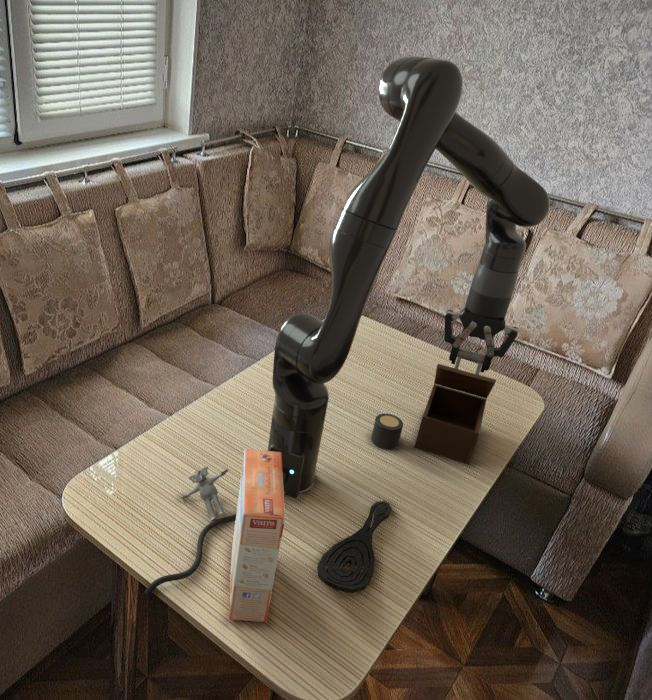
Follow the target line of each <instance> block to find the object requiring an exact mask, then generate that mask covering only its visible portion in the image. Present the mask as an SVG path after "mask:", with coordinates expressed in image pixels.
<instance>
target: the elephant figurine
mask: <svg viewBox="0 0 652 700" xmlns="http://www.w3.org/2000/svg"><path fill="white" fill-rule="evenodd" d="M208 469H209V466H204V467H203V468H201V469H198V470H196V471H194V473H193V474H191V475H189V477H188V480H190V481H191V482H192V483H193V484H195V483H196V485H195V486H194V487H193V488H192V489H191V490H190V491H189V492H188V493H185V494H183V495H182V496H181V497H180V499H182V500H184V499H187V498H189V497H190V496H191V495H194V494H196V493H198V492H199V496H200V498H201V499H202V501H204V505H205V507H206V509H207V512H208V515H209V518H210V521H211V522H213V521H215V520H217V519H218V517H217V514H218V516H224V515H226V512H225V510H224V508H223V506H222V505H221V502H220V499H219V496H218V492H219V490H218V489H217V487H216V486H215V482H216V481H217V480H218V479H220V478H221V477H223V476H225V475H226V474H227V473H228V472H229V468H226V469H224V470H222V471H220V473H219V474H215V475H212V476H209V477H207V476H208V474H209V473H208V472H209V471H208ZM212 502H213V504H214V506H213V504H212ZM214 507H215V509H216V512H217V514H216V512H215V509H214Z"/></svg>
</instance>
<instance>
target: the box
mask: <svg viewBox="0 0 652 700" xmlns="http://www.w3.org/2000/svg"><path fill="white" fill-rule="evenodd" d="M487 399H488V398H487ZM487 399H486V398H483V397H479V396H476V395H472V394H469V393H465V392H462V391H458V390H455V389H451V388H448V387H444V386H441V385H437V384H434V383H433V386H432V389H431V391H430V394H429V397H428V400H427V402H426V406H425V408H424V410H423V414H422V417H421V420H420V424H419V427H418V432H417V436H416V438H415V443H414V446H413V447H414V449H418V450H421V451H425V452H428V453H431V454H434V455H437V456H440V457H443V458H447V459H450V460H453V461H456V462H459V463H461V464H464V465H465V464H466V465H469V466H470V463H471V461H472V457H473V455H474V451H475V448H476V446H477V442H478V440H479V436H480V433H481V427H482V423H483V419H484V413H485V410H486V404H487Z"/></svg>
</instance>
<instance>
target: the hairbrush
mask: <svg viewBox="0 0 652 700" xmlns="http://www.w3.org/2000/svg"><path fill="white" fill-rule="evenodd" d="M391 512H392V505H391V504H390V503H389V502H387V501H385V500H382V501H380V500H379V501H375V502H374V503H373V504H372V505H371V506H370V509H369V512H368V516H367V517H366V519H365V521H364V522H363V525H362V527H360V529H358V530H357V531H355V532H354V533H353V534H351V535H347V536H346V537H345V538H344V539H342V540H340V541H338V542H337V543H335V544H333V545H332V546H331V547H330V548H329V549H328V550H327V551H326V552H325V553H324V554H323V555H322V556H321V558H320V559H319V561H318V564H317V569H316V571H317V577H318V578H319V579H320V581H322V582H323V583H324V584H325V585H326V586H328V587H330V588H332V589H333V590H335V591H338V592H342V593H347V594H348V593H349V594H355V593H359V592H362V591H363V590H366V588H367V587H368V585H369V584H370V582H371V580H372V579H373V576H374V573H375V563H376V552H375V551H376V548H374V544H373V542H374V540H373V534H374V533H375V531H376V530H377V529H378V527H379V526H380V524H382V523H383V522H384V521H386V520H387V519H388V518H389V517H390V515H391ZM347 565H348V567H349V568H346V566H347Z"/></svg>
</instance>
